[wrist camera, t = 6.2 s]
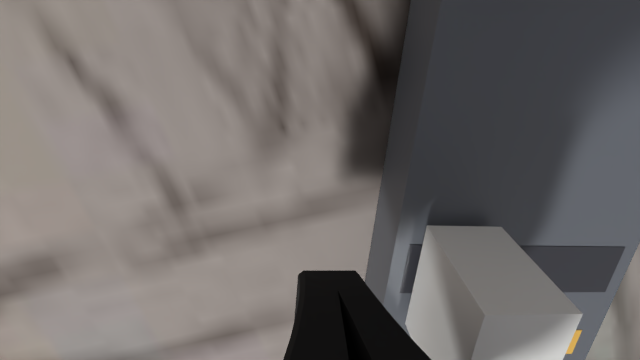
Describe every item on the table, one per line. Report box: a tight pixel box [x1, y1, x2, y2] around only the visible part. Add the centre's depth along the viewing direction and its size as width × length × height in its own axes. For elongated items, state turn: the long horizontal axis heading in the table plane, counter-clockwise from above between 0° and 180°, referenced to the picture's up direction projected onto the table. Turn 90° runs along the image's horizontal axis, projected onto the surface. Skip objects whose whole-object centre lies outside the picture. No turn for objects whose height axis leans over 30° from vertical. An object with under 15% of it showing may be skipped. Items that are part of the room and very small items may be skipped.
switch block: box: [365, 0, 640, 360], centre depth 11 cm, size 7×22×2 cm, turn 175°
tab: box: [405, 225, 583, 360], centre depth 10 cm, size 2×3×3 cm, turn 175°
